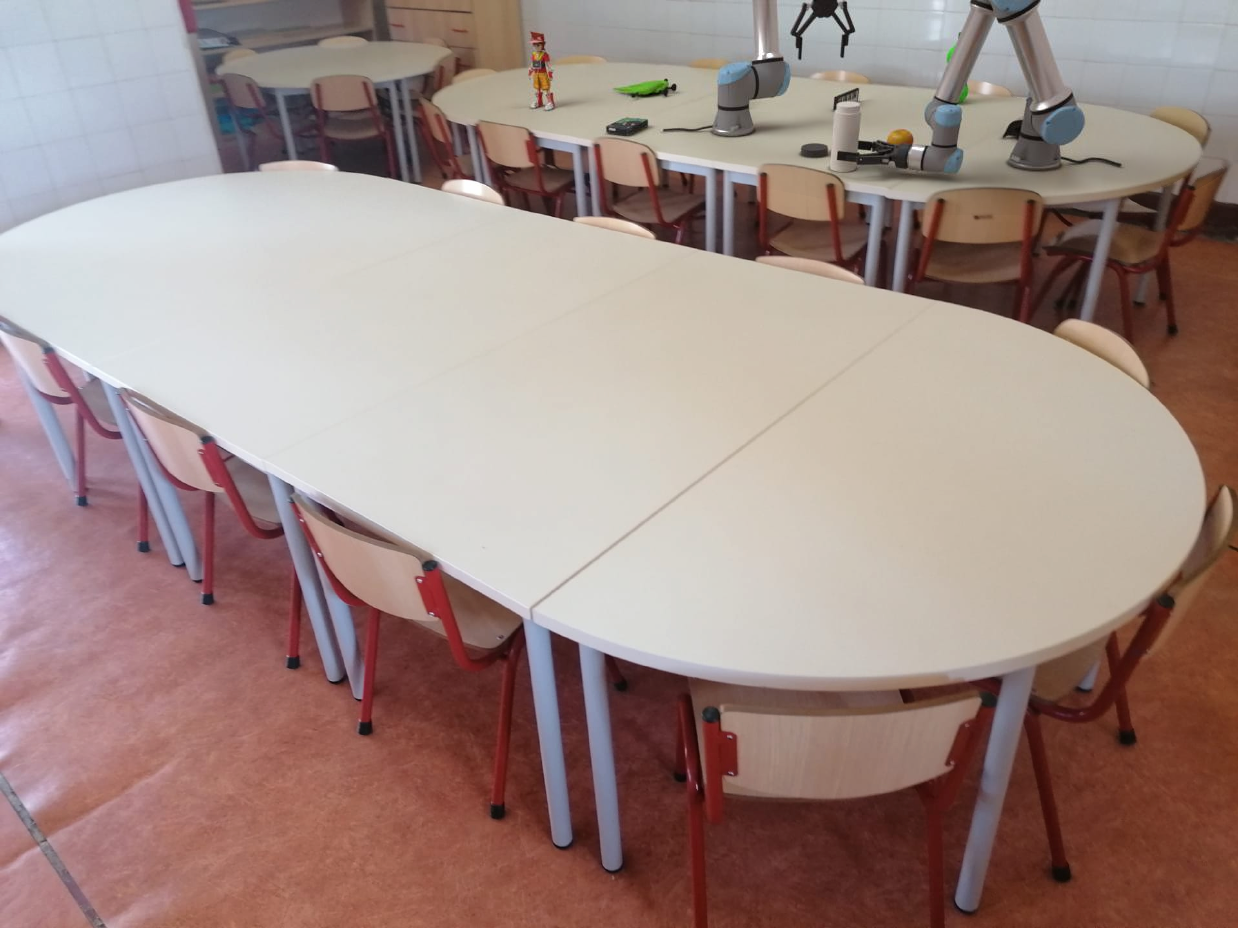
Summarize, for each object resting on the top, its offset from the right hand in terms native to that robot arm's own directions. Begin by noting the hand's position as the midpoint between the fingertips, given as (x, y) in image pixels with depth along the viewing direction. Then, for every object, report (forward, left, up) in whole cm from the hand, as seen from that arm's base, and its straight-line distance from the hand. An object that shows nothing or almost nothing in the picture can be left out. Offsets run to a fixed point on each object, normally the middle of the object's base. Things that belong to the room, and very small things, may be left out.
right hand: (844, 150), depth 290 cm
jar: (0, 0, -6) cm, 6 cm away
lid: (+8, -17, -4) cm, 19 cm away
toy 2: (+76, -117, -6) cm, 139 cm away
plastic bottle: (-52, -82, -6) cm, 97 cm away
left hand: (+8, -17, +25) cm, 31 cm away
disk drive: (+76, -54, -6) cm, 93 cm away
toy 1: (+116, -94, -6) cm, 150 cm away
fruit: (-20, -17, -6) cm, 27 cm away
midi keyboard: (-10, -82, -6) cm, 82 cm away
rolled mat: (-70, -39, -6) cm, 81 cm away
